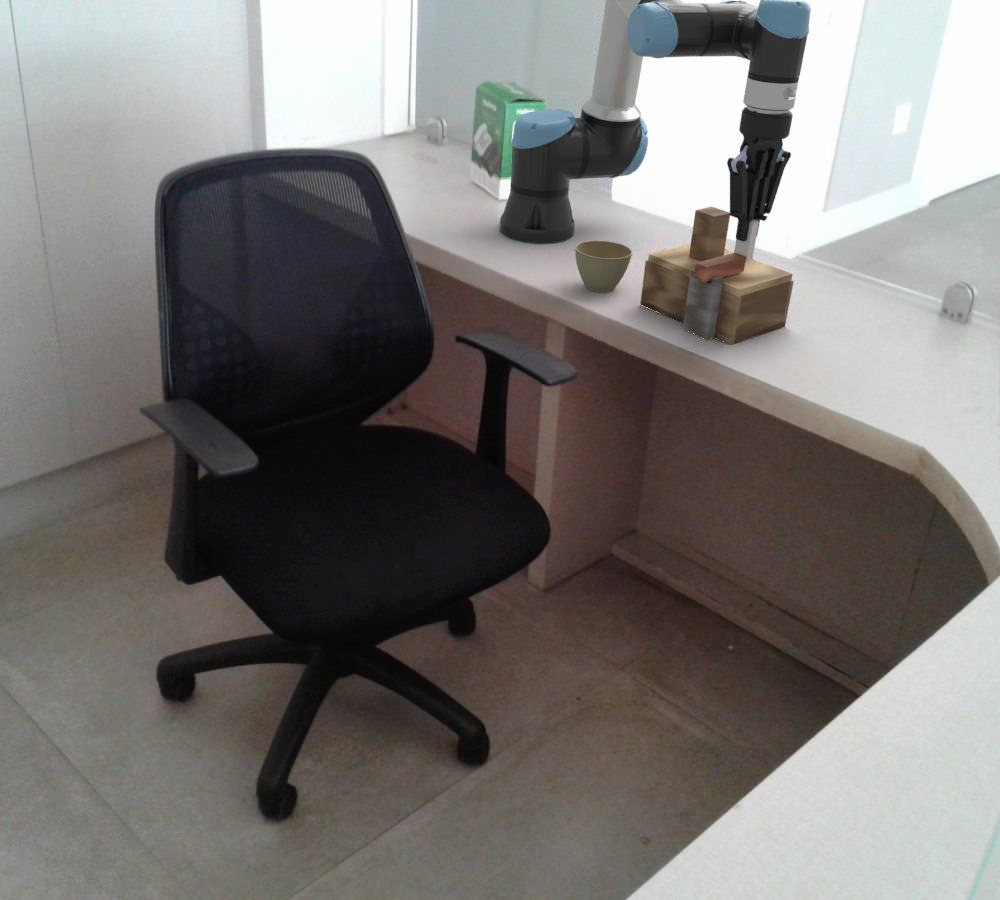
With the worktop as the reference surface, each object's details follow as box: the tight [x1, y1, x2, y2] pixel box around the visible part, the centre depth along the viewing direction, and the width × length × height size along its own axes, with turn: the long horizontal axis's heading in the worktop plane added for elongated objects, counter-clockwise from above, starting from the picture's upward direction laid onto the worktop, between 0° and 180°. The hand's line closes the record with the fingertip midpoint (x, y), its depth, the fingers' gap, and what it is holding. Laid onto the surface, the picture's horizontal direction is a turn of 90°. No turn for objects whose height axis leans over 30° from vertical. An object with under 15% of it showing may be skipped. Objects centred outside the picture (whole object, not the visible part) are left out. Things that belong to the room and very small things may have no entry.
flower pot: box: [574, 240, 633, 293], centre depth 185 cm, size 10×10×7 cm
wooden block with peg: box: [647, 206, 793, 297], centre depth 171 cm, size 19×13×9 cm
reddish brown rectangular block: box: [694, 253, 746, 282], centre depth 167 cm, size 2×10×2 cm, turn 129°
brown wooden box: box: [640, 259, 795, 346], centre depth 174 cm, size 20×16×10 cm
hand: (742, 258), depth 169 cm, fingers closed
